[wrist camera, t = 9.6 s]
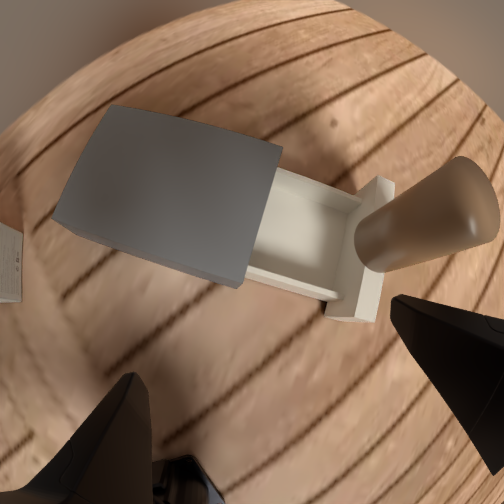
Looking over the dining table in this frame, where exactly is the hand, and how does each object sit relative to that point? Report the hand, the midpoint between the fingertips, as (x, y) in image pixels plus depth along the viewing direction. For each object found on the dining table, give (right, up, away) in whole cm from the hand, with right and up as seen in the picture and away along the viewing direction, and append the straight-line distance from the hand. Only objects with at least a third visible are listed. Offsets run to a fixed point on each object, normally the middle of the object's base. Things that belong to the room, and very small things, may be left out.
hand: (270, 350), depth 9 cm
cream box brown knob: (+2, +4, +14) cm, 15 cm away
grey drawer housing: (-7, +7, +14) cm, 17 cm away
